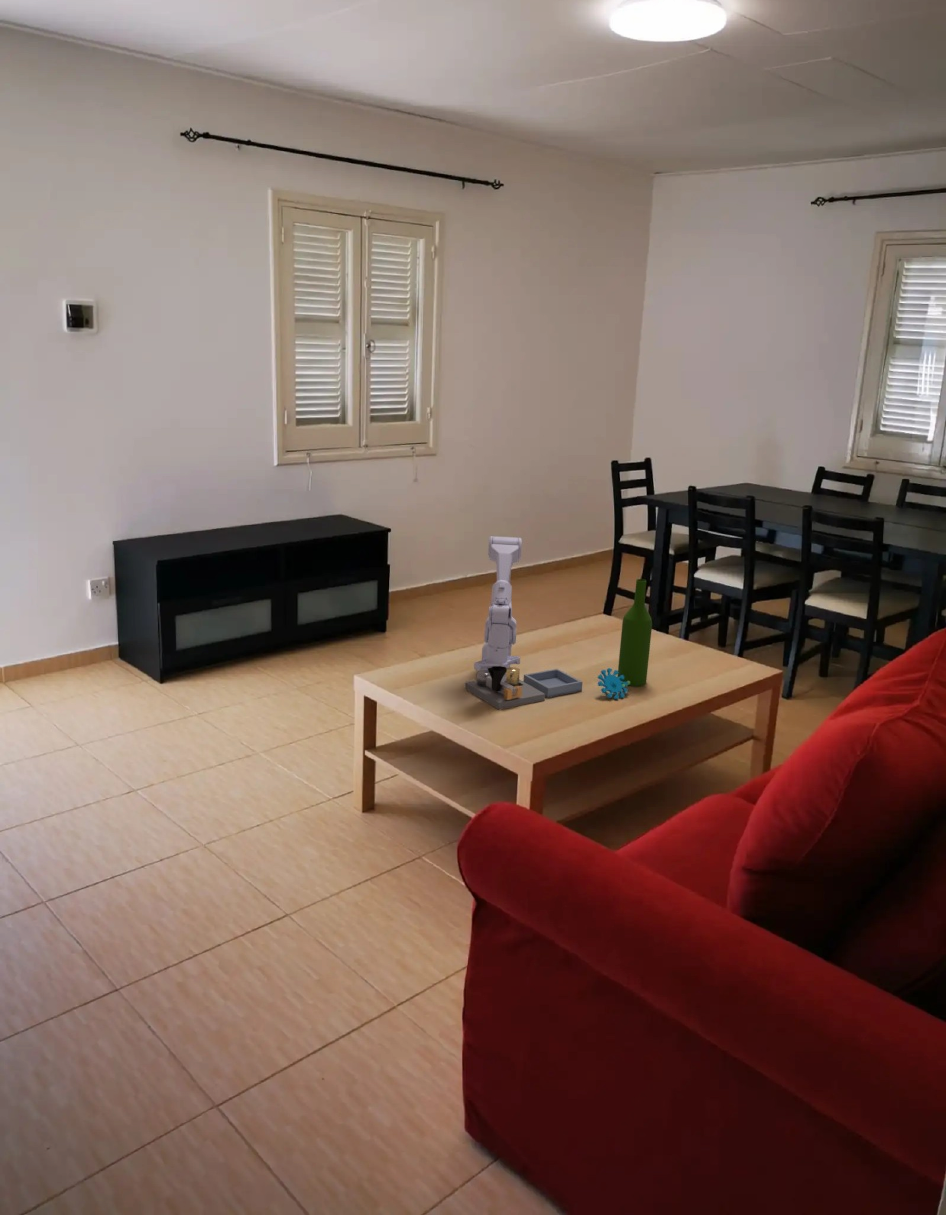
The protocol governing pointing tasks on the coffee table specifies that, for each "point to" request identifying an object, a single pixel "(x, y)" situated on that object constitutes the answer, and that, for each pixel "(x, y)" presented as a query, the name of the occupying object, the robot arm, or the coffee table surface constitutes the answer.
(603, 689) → the blue spiky round piece
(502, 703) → the crank plate
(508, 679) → the pin
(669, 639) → the coffee table surface
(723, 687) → the coffee table surface
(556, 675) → the tray
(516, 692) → the lever
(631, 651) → the wine bottle
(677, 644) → the coffee table surface
